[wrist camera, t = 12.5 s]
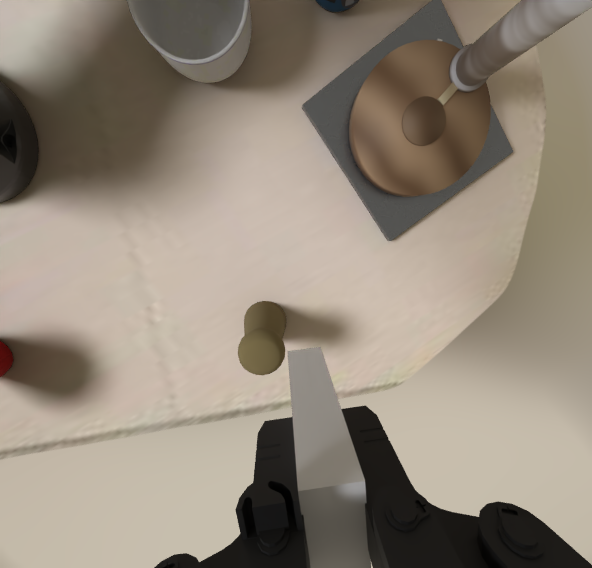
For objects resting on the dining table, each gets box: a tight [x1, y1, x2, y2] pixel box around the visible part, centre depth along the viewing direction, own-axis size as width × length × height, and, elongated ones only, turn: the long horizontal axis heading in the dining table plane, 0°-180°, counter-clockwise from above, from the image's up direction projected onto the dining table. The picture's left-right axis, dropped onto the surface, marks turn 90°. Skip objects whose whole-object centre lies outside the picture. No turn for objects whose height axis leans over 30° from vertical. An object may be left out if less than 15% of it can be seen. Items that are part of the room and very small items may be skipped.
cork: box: [238, 301, 286, 375], centre depth 34 cm, size 6×6×11 cm
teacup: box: [127, 0, 252, 83], centre depth 28 cm, size 14×11×8 cm
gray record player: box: [302, 0, 513, 241], centre depth 34 cm, size 20×19×1 cm
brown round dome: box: [349, 0, 592, 197], centre depth 26 cm, size 17×16×16 cm
